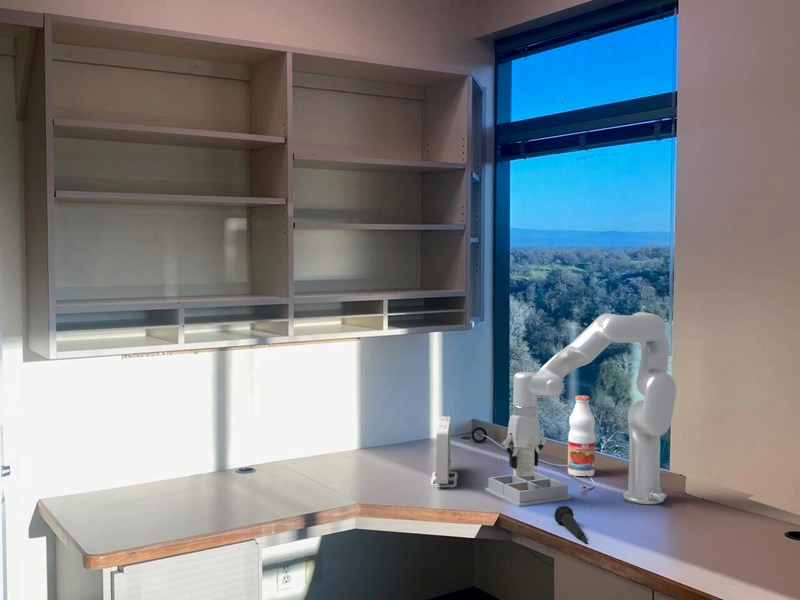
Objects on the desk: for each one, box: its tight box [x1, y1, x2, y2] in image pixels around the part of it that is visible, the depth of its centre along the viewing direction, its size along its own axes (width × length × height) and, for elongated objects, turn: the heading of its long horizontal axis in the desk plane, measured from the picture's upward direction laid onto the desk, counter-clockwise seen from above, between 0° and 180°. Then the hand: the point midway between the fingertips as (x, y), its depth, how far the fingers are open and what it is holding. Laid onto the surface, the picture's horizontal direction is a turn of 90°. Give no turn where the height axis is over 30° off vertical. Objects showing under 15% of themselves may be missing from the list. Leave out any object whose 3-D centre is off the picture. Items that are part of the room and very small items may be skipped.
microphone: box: [553, 505, 588, 544], centre depth 236 cm, size 6×6×20 cm
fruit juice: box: [567, 395, 596, 477], centre depth 297 cm, size 9×9×28 cm
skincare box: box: [513, 438, 535, 476], centre depth 266 cm, size 6×4×12 cm
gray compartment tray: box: [484, 471, 572, 507], centre depth 272 cm, size 20×20×4 cm
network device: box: [430, 415, 458, 488], centre depth 289 cm, size 26×9×20 cm, turn 175°
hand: (523, 466), depth 266 cm, fingers closed on skincare box, 7 cm apart
